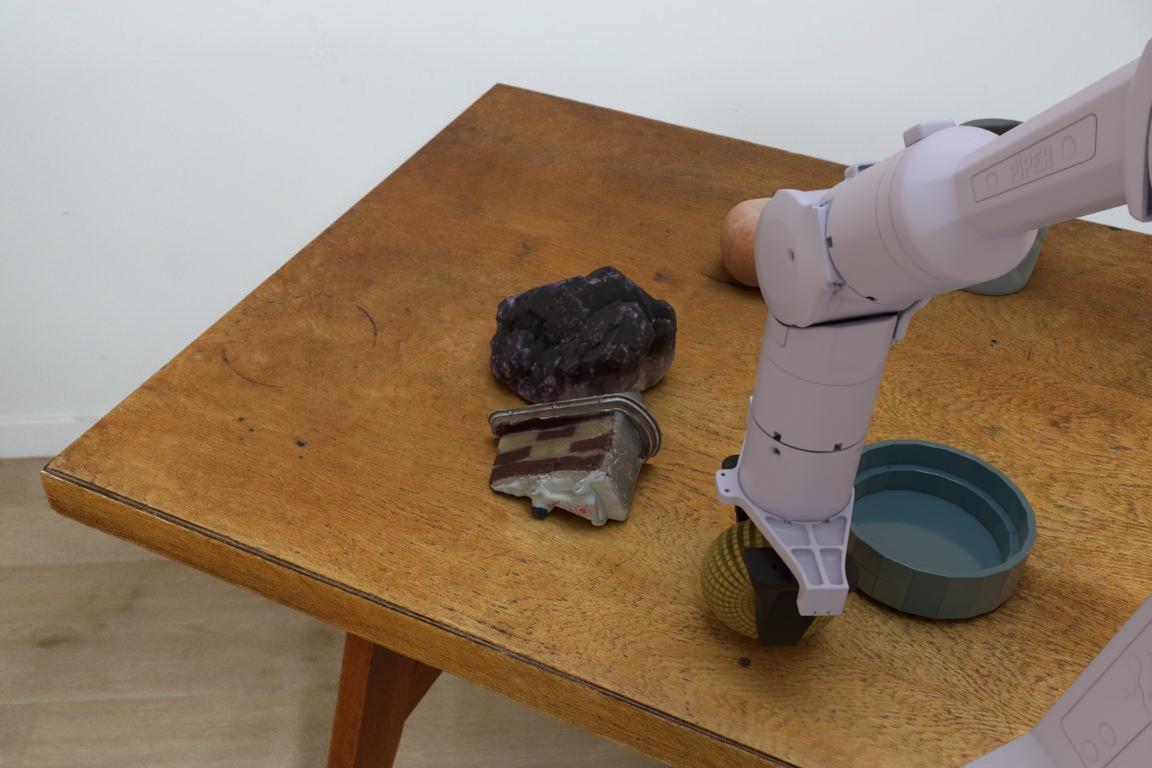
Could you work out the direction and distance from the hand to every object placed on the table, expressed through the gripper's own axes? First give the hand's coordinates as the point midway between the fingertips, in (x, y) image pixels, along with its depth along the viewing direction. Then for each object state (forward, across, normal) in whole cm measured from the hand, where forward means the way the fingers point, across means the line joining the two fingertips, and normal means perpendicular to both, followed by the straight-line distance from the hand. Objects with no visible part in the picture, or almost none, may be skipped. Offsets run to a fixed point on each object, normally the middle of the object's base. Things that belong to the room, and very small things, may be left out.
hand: (767, 603), depth 62 cm
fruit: (+2, -38, +7) cm, 39 cm away
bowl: (+2, -6, +11) cm, 13 cm away
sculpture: (+2, 0, 0) cm, 2 cm away
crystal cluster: (+2, -25, -9) cm, 27 cm away
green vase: (+2, -40, +27) cm, 48 cm away
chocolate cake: (+2, -12, -11) cm, 16 cm away
